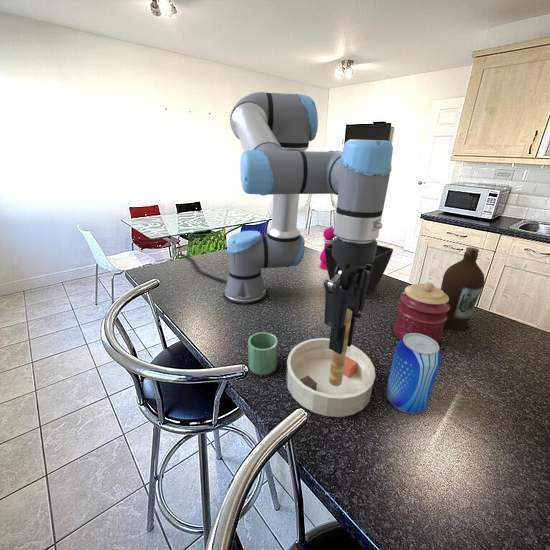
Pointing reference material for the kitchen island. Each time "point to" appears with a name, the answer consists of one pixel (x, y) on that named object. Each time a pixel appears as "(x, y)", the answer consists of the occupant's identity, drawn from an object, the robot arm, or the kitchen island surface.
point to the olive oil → (462, 289)
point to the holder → (262, 353)
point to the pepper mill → (327, 244)
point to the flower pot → (378, 264)
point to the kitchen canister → (421, 311)
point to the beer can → (413, 372)
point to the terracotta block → (349, 367)
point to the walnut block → (309, 382)
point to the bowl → (328, 398)
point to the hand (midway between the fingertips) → (340, 346)
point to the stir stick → (340, 355)
